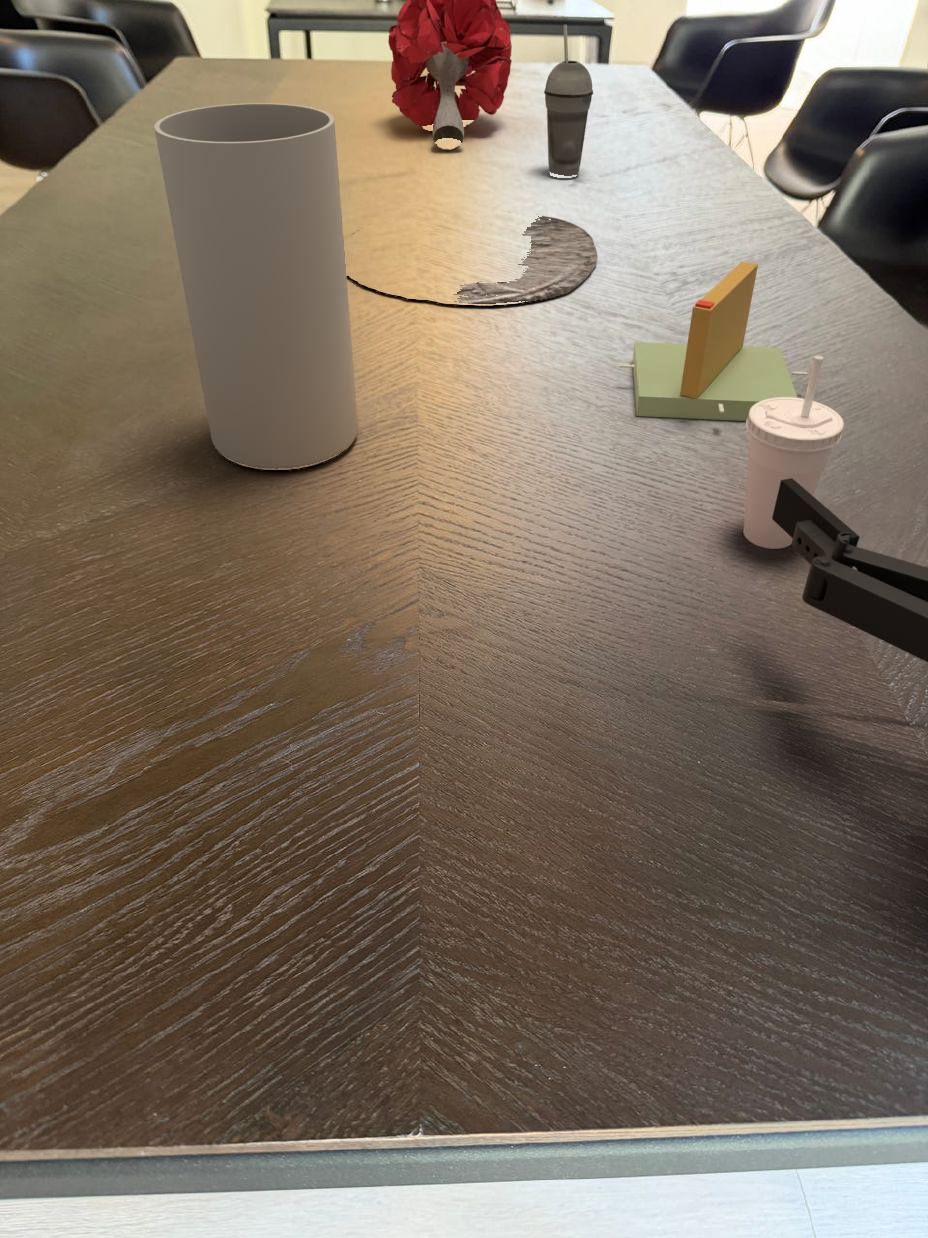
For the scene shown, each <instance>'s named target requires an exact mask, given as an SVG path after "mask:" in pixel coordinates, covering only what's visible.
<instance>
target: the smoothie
mask: <svg viewBox="0 0 928 1238" xmlns="http://www.w3.org/2000/svg"><path fill="white" fill-rule="evenodd" d="M823 361H824V357H823V356H822V355H814V357H813V360H812V366H811V370H810V373H809V378H808V382H807V386H806V390H805V391H806V392H805V396H804V398H803V397H802V398H800V397H798V398H794V397H777V398H770V399H766V400H762V401H760V402H758V403H756V404H755V405H753V406H752V407H751V408H750V410H749V415H748V419H747V421H745V428H746V430H747V432H748V433H749V440H748V455H747V469H746V470H747V471H746V484H745V485H746V487H745V501H744V517H743V531H742V532H743V536H744V537H745V539H746V540H747V541H749V542H750V543H751V544H753V545H754V546H758V547H761V548H765V549H772V550H774V549H777V550H778V549H779V550H780V549H785V548H787V547H790V546H791V545H792V540H793V538H792V537H790V536H789V535H788V534H787V533H786V532H785V531H784V530H783V529H782V528H781V527H780V526H779V525H778V524H777V523H776V522H775V521H774V520H773V519H772V516H773V512H774V508H775V504H776V499H777V495H778V491H779V487H780V482H781V480H784V479H790V478H793V479H794V480H795V481H796V482H797V483H798V484H800V485H801V486H802V487H803V488H804V489H805V490H806V491H808V492H809V493H810V494H811V495H812V496H813V495H814V493H815V491H816V488H817V486H818V483H819V481H820V479H821V476H822V474H823V471H824V469H825V466H826V464H827V463H828V460H829V457H830V455H831V452H832V450H833V447H834V446H837V445H838V444H839V442H840V441H841V439H842V434H843V433H842V432H843V429H844V425H845V424H844V419H843V418H842V416H841V415H840V414H839V413H838V412H837V411H836V410H834V409H833V408H831V407H830V406H827V405H825V404H823V403H820V402H818V401H814V398H815V395H816V390H817V385H818V382H819V378H820V373H821V368H822V365H823ZM813 497H814V496H813Z"/></svg>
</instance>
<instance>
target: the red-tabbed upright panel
mask: <svg viewBox="0 0 928 1238" xmlns="http://www.w3.org/2000/svg"><path fill="white" fill-rule="evenodd" d="M758 267H759V264H758V263H752V262H747V261H740V263H738V264H737V265H736V266H735V267H734V268H733V269H732V270H730V271H729V272H728V274H726V276H724V277H723V278H722V279H721V280H720V281H719V282H718V283H717V284H716V285H714V287H712V289H710V290H709V291H708V292H707V293H706V294H705V295H704V296H703V297H702V298H701V299H699V300H698V301H696V303H695V304H694V305H693V306H692V311H691V317H690V323H689V331H688V337H687V343H686V344H687V350H686V357H685V363H684V370H683V377H682V384H681V390H680V395H683V396H687V397H691V398H696V399H697V398H698V397H699V395H700V394H701V393H702V392H703V391H704V390H705V389H706V388H707V386H708V385H709V384H710V383H711V382H712V381H713V380H714V379H715V377H716V376H717V375H718V374H719V373H720V372H721V371H722V370H723V368H724V367H725V366H726V365H727V364H728V363H729V362H730V361H731V359H732V358H733V357H734V356H735V355H736V354H737V353H738V352H739V350H740V349H741V348H742V347H743V346H744V342H745V338H746V337H745V336H746V331H747V327H748V320H749V317H750V316H749V315H750V312H751V311H750V310H751V305H752V299H753V295H754V289H755V283H756V279H757V272H758Z"/></svg>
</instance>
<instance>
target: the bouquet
mask: <svg viewBox="0 0 928 1238" xmlns="http://www.w3.org/2000/svg"><path fill="white" fill-rule="evenodd" d="M396 21H397V24H395V25H391V26H390V27H389V29H388V33H389V34H388V41H387V42H388V46H389V50H390V51H391V53H392V54H391V55H392V61H391V66H390V67H391V69H390V74H391V81H393V83H394V84H395V90H394V91H393V92H392V95H391V97H392V99H391V103H392V104H394V105H395V106H396V107H397V108H398V109H399V112H400V113H401V114H402V115H403V116H404V117H405V118H407V119H409V120H410V121H411V122H412V123H413V124H415V125H416V126H418V125H419V126H418V127H422V126H427V125H432V124H434V125H433V131H432V140H433V143H434V142H436V141H437V140H438V139H442V138H453V139H457V140H460V141H461V143H462V144H463V143H464V137H465V127H463V122H462V120H475V121H477V119H478V117H479V115H480V112H481V109H482V111H483V112H484V113H486V114H488V115H490V116H494V115H496V114H497V112H498V110H499V109H500V108H501V106H502V105H503V102H504V98H505V95H504V94H505V92H506V90H507V88H508V84H509V77H510V74H511V66H512V61H513V60H512V59H511V57H512V49H513V48H512V41H511V25H510V24H509V23H508V22H507V20H506V18H503V16H502V12H501V11H500V8H499V7H498V3H497V0H406V1H405V2H404V3H403V4H402V6H401V8H400V9H399V12H398V15H397V18H396ZM425 70H426V71H427V72H428V73H427V74H426V75H422V74H423V73H424V71H425ZM456 87H464V88H459V89H460V92H459V95H458V94H457V92H456ZM480 108H481V109H480Z"/></svg>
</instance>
